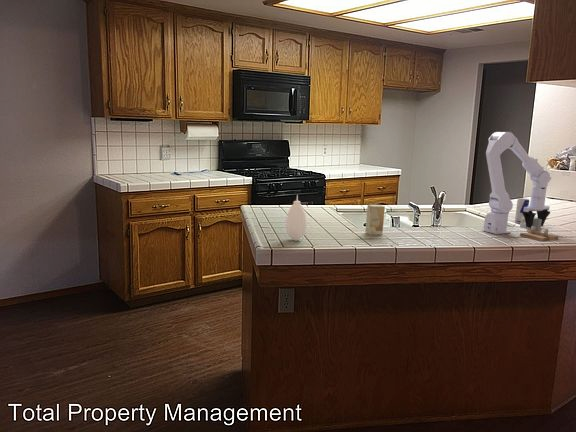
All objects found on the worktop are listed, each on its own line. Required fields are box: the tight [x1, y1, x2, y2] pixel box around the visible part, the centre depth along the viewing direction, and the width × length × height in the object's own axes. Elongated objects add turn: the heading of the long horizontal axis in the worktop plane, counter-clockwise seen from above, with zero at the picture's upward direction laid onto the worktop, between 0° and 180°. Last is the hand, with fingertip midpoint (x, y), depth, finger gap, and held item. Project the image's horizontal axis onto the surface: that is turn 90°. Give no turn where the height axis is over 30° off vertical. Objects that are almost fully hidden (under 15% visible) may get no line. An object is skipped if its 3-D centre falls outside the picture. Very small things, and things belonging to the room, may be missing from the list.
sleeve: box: [526, 218, 542, 233], centre depth 213 cm, size 6×6×6 cm
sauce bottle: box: [285, 194, 308, 242], centre depth 183 cm, size 8×8×18 cm
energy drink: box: [514, 197, 530, 224], centre depth 235 cm, size 5×5×12 cm
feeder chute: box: [519, 216, 538, 229], centre depth 225 cm, size 9×6×5 cm
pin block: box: [519, 226, 559, 242], centre depth 203 cm, size 11×10×4 cm
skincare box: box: [365, 204, 386, 236], centre depth 199 cm, size 6×4×12 cm
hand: (534, 226), depth 213 cm, fingers open, 7 cm apart
